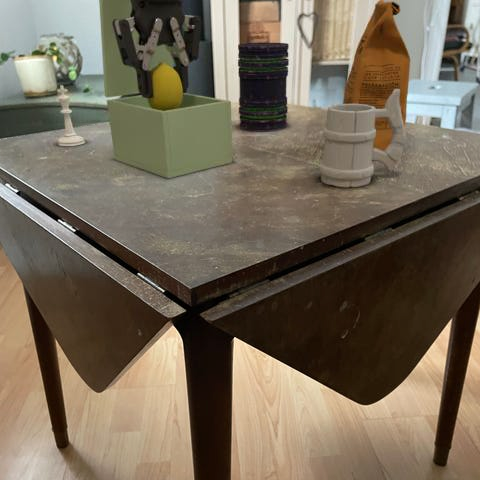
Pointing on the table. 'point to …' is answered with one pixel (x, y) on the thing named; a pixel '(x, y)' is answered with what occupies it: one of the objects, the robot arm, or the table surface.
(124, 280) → the table surface
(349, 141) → the mug
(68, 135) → the chess piece
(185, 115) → the box
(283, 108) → the storage jar
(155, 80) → the lemon
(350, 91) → the coffee package
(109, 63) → the lid
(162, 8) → the robot arm
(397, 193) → the table surface
